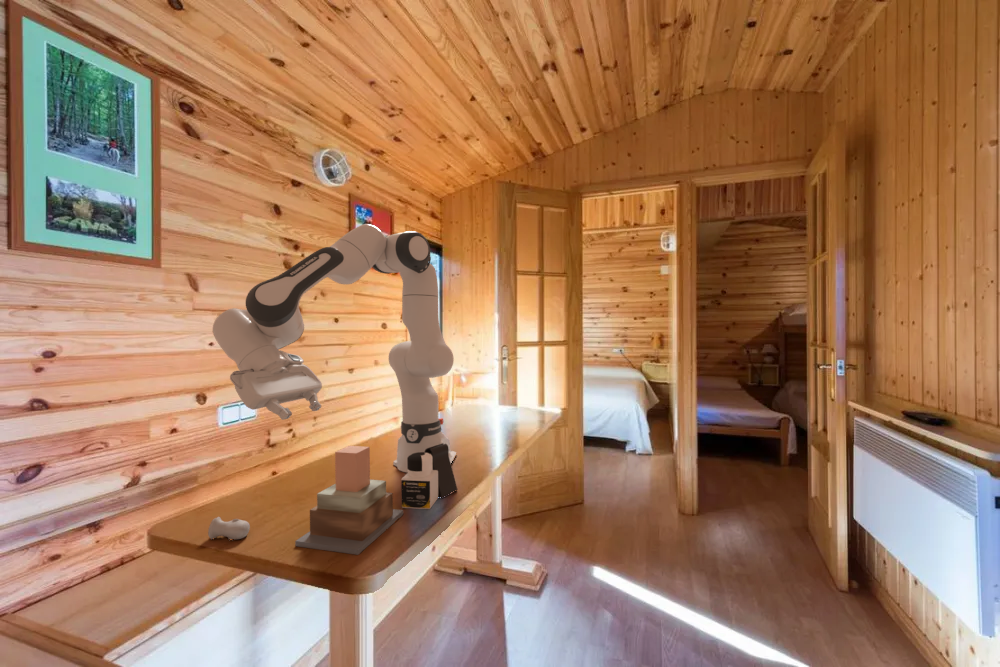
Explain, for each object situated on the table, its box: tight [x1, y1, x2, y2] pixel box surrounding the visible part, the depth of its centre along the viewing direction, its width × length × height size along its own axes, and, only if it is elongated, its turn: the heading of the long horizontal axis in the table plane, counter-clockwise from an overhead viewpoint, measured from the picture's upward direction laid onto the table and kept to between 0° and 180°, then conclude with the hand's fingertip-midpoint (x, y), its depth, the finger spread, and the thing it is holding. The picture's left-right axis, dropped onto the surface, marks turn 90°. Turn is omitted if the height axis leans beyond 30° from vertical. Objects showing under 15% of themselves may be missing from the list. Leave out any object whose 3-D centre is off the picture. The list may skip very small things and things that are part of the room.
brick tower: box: [309, 478, 394, 541], centre depth 91 cm, size 12×12×8 cm
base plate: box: [295, 508, 404, 555], centre depth 91 cm, size 18×14×1 cm
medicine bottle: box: [400, 452, 439, 510], centre depth 104 cm, size 7×7×12 cm
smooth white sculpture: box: [207, 516, 251, 540], centre depth 88 cm, size 4×8×5 cm
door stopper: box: [425, 443, 458, 499], centre depth 111 cm, size 9×6×12 cm, turn 54°
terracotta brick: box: [334, 445, 371, 492], centre depth 91 cm, size 5×5×8 cm
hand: (303, 413), depth 93 cm, fingers open, 8 cm apart
